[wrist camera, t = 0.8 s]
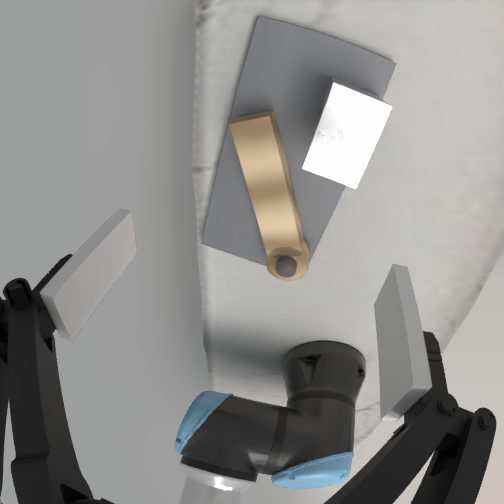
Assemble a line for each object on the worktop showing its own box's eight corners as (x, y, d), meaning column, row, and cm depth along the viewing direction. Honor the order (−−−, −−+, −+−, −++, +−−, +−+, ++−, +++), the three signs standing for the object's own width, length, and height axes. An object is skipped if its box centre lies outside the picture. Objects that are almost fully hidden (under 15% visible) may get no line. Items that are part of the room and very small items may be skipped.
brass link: (312, 263, 40) (310, 284, 37) (274, 266, 42) (269, 287, 38) (278, 109, 30) (273, 117, 26) (232, 118, 31) (221, 128, 28)
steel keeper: (349, 159, 33) (355, 188, 26) (306, 143, 33) (302, 168, 26) (376, 94, 28) (391, 107, 21) (330, 75, 28) (333, 82, 21)
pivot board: (302, 272, 43) (301, 278, 42) (204, 238, 43) (201, 243, 42) (393, 63, 25) (396, 63, 24) (260, 17, 25) (258, 15, 24)
